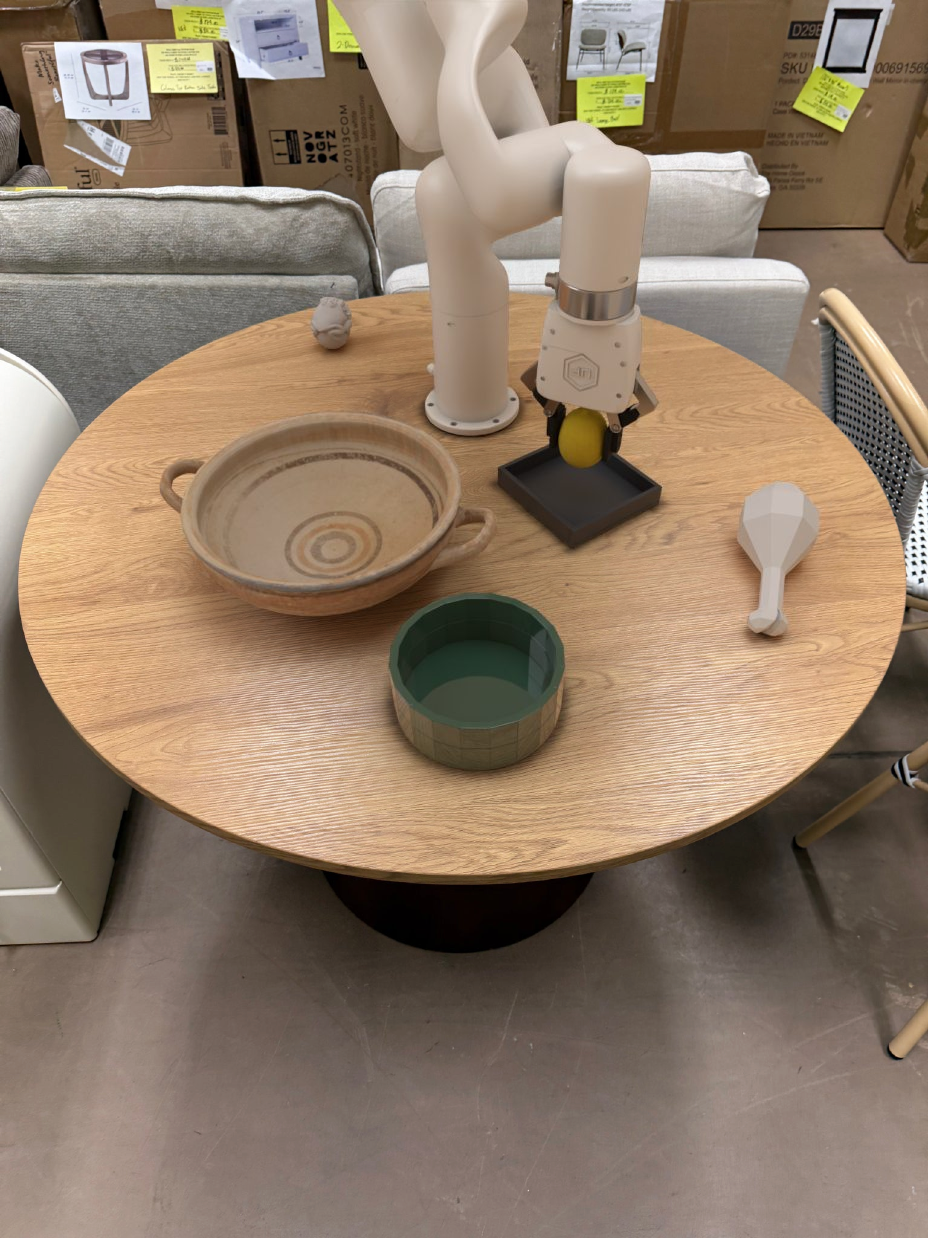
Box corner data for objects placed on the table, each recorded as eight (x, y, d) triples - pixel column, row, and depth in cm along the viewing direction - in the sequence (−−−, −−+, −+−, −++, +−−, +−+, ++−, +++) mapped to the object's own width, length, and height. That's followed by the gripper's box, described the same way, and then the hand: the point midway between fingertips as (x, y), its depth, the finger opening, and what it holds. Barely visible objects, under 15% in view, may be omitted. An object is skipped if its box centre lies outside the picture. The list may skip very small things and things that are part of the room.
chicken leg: (707, 635, 83) (758, 600, 76) (724, 499, 91) (772, 456, 84) (777, 664, 84) (833, 633, 77) (787, 527, 93) (840, 488, 86)
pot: (365, 683, 79) (357, 640, 74) (496, 614, 84) (496, 569, 79) (455, 801, 70) (452, 760, 65) (594, 715, 76) (601, 671, 71)
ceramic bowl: (119, 620, 85) (83, 550, 78) (242, 458, 103) (222, 389, 96) (457, 693, 78) (454, 623, 70) (526, 505, 96) (529, 434, 88)
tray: (497, 484, 99) (497, 466, 97) (581, 445, 103) (582, 428, 101) (571, 549, 91) (573, 531, 89) (659, 504, 95) (662, 486, 93)
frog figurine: (363, 337, 123) (357, 293, 118) (342, 360, 119) (335, 315, 113) (327, 331, 125) (320, 287, 119) (305, 354, 120) (297, 309, 115)
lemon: (604, 453, 95) (611, 394, 90) (605, 483, 92) (612, 422, 86) (557, 452, 96) (560, 392, 90) (556, 481, 92) (559, 421, 86)
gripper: (499, 294, 79) (499, 448, 92) (672, 327, 74) (646, 486, 87) (529, 262, 84) (525, 414, 97) (694, 291, 78) (666, 448, 91)
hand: (582, 447), depth 92 cm, fingers closed on lemon, 5 cm apart
